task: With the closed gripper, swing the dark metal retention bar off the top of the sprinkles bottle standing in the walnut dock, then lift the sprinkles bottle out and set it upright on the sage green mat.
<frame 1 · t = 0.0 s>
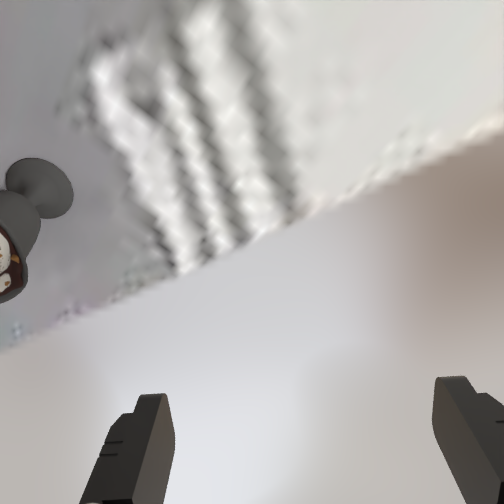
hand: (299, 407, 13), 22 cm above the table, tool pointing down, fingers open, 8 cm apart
sundae: (41, 187, 34), on the table
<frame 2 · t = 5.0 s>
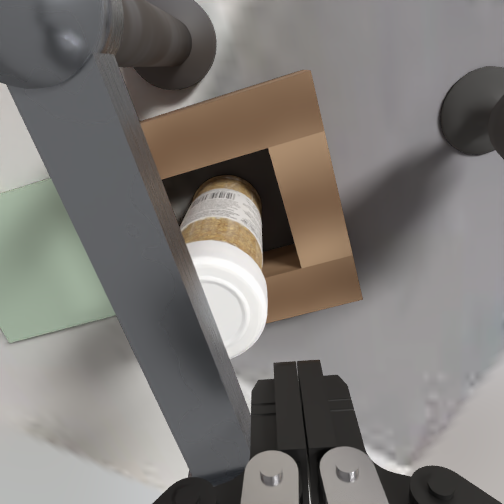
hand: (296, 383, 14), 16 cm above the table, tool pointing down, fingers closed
sundae: (480, 110, 26), on the table
retention bar: (152, 278, 12), point 17 cm above the table, hinge at 0.1°, touching gripper
green mat: (45, 259, 30), on the table
sprinkles bottle: (228, 206, 29), resting in walnut dock
walnut dock: (228, 207, 29), on the table
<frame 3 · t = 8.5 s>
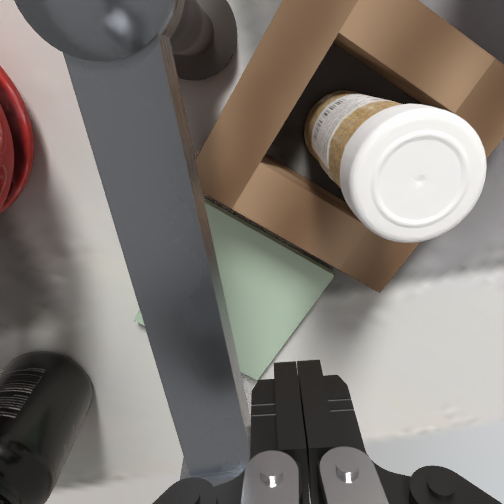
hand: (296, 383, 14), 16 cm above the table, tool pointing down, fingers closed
retention bar: (175, 266, 12), point 17 cm above the table, hinge at 49.8°, touching gripper
green mat: (232, 293, 31), on the table
sprinkles bottle: (340, 127, 27), resting in walnut dock
supplement bottle: (51, 383, 34), on the table
walnut dock: (340, 128, 27), on the table
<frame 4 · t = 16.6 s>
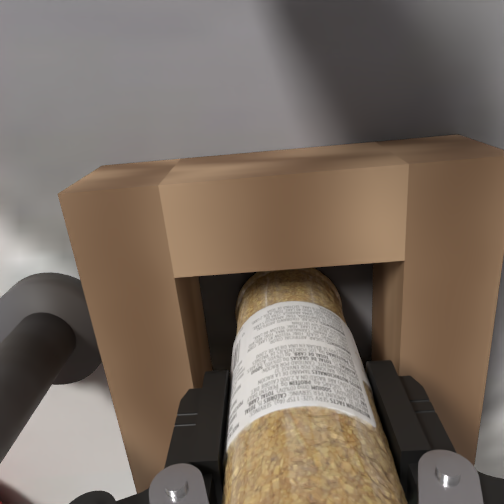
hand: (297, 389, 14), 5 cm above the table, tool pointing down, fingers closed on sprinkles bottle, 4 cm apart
sprinkles bottle: (287, 303, 19), resting in walnut dock, touching gripper
walnut dock: (287, 306, 19), on the table
when the fingers open (7 cm above the table, at t = 23.1 s): sprinkles bottle drops 1 cm, resting on green mat.
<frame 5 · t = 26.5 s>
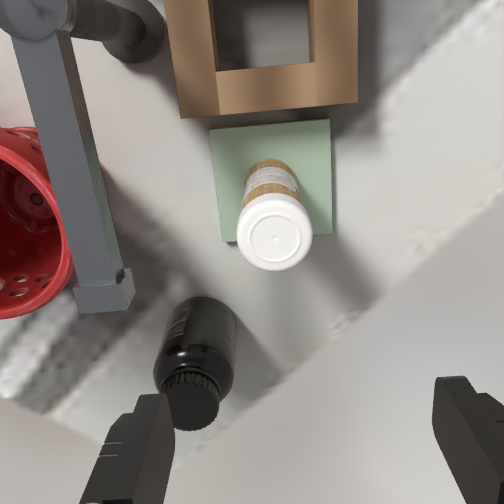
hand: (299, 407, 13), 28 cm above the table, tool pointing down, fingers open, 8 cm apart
retention bar: (71, 155, 22), point 17 cm above the table, hinge at 89.5°
green mat: (273, 181, 39), on the table
sprinkles bottle: (269, 182, 39), point 1 cm above the table, touching green mat
supplement bottle: (204, 322, 45), on the table
plant pot: (50, 189, 40), on the table
walnut dock: (261, 16, 34), on the table
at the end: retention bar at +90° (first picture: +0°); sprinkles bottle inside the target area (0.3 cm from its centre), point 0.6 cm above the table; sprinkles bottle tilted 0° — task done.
